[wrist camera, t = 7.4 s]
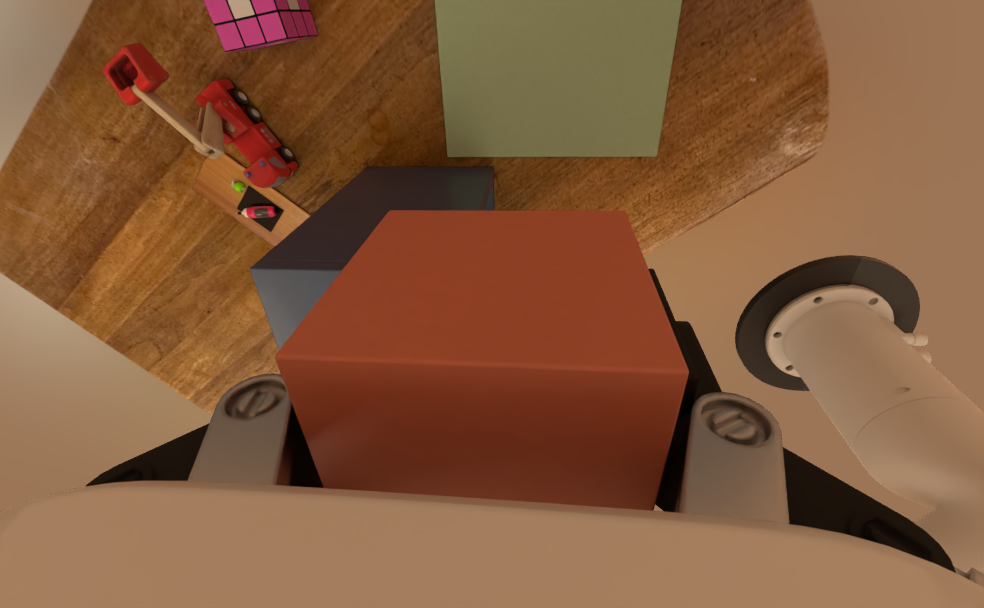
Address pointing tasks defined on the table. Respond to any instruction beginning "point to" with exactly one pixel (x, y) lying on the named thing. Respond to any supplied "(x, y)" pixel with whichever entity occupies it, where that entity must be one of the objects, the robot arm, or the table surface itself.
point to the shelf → (356, 232)
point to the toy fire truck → (205, 116)
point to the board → (248, 200)
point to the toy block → (491, 361)
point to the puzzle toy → (260, 22)
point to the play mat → (555, 76)
